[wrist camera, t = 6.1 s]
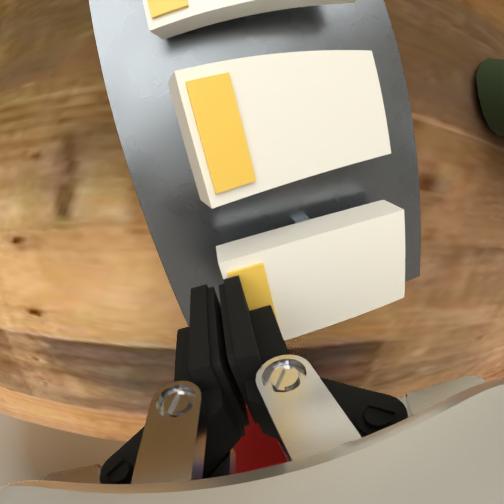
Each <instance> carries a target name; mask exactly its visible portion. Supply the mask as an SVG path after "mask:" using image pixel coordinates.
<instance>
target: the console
mask: <svg viewBox="0 0 504 504" xmlns="http://www.w3.org/2000/svg"><path fill="white" fill-rule="evenodd" d="M89 4H90V10H91V16H92V22H93V28H94V33H95V39H96V44H97V49H98V54H99V58H100V63H101V68H102V72H103V76H104V81H105V85H106V89H107V93H108V97H109V101H110V105H111V109H112V113H113V116H114V120H115V124H116V127H117V131H118V135H119V138H120V142H121V145H122V148H123V152H124V155H125V158H126V162H127V165H128V168H129V171H130V174H131V177H132V181H133V184H134V187H135V190H136V193H137V196H138V199H139V202H140V205H141V207H142V210H143V213H144V216H145V219H146V222H147V224H148V227H149V230H150V233H151V235H152V238H153V241H154V244H155V246H156V249H157V251H158V254H159V257H160V259H161V262H162V264H163V267H164V269H165V272H166V274H167V277H168V279H169V282H170V284H171V287H172V289H173V292H174V294H175V296H176V299H177V301H178V303H179V306H180V308H181V310H182V313H183V315H184V317H185V320H186V322H187V324H188V326H189V321H190V295H191V288H194V287H197V286H201V285H205V284H207V286H208V288H209V287H214V289H215V291H216V294H217V297H218V300H219V303H220V295H219V285H220V284H224V281H223V277H222V274H221V270H220V267H219V264H218V259H217V252H216V246H218V245H221V244H225V243H228V242H232V241H235V240H239V239H242V238H246V237H249V236H253V235H256V234H260V233H263V232H267V231H270V230H274V229H278V228H281V227H285V226H288V225H292V224H295V223H299V222H303V221H306V220H310V219H313V218H317V217H321V216H324V215H328V214H332V213H335V212H339V211H343V210H346V209H350V208H354V207H358V206H361V205H365V204H369V203H372V202H376V201H380V200H385V201H388V202H390V203H392V204H394V205H396V206H398V207H400V208H402V209H404V218H405V281H407V280H410V279H413V278H416V277H418V276H419V275H420V244H421V224H420V193H419V177H418V164H417V154H416V145H415V136H414V129H413V121H412V115H411V109H410V103H409V97H408V92H407V86H406V81H405V77H404V72H403V67H402V63H401V59H400V55H399V51H398V47H397V43H396V39H395V36H394V32H393V29H392V25H391V22H390V19H389V15H388V12H387V9H386V6H385V3H384V0H357V1H356V2H355V3H347V4H328V5H316V6H306V7H297V8H290V9H283V10H276V11H270V12H264V13H259V14H254V15H249V16H244V17H240V18H235V19H231V20H227V21H223V22H219V23H215V24H211V25H208V26H204V27H201V28H198V29H194V30H191V31H188V32H185V33H182V34H179V35H176V36H173V37H170V38H167V39H164V40H163V39H162V38H160V37H159V36H157V35H155V34H154V33H152V32H150V31H149V27H148V22H147V18H146V14H145V9H144V5H143V0H89ZM319 50H370V51H372V53H373V57H374V61H375V66H376V70H377V74H378V79H379V83H380V88H381V93H382V98H383V103H384V109H385V115H386V121H387V127H388V133H389V140H390V148H391V154H387V155H384V156H380V157H376V158H373V159H369V160H365V161H362V162H358V163H355V164H351V165H347V166H344V167H341V168H337V169H334V170H330V171H327V172H324V173H320V174H317V175H314V176H310V177H307V178H304V179H301V180H297V181H294V182H291V183H288V184H285V185H281V186H278V187H275V188H272V189H269V190H266V191H263V192H260V193H257V194H254V195H251V196H248V197H245V198H242V199H239V200H236V201H233V202H230V203H227V204H224V205H221V206H219V207H216V208H213V209H212V208H210V207H209V206H208V205H206V204H205V203H204V202H202V201H201V200H200V197H199V193H198V190H197V186H196V183H195V180H194V176H193V173H192V169H191V166H190V162H189V159H188V155H187V152H186V148H185V145H184V141H183V137H182V134H181V130H180V126H179V123H178V119H177V115H176V112H175V108H174V104H173V100H172V97H171V93H170V89H169V85H168V81H169V79H170V78H171V76H172V74H173V73H174V71H177V70H181V69H186V68H190V67H194V66H199V65H204V64H209V63H214V62H219V61H225V60H231V59H237V58H244V57H251V56H258V55H267V54H276V53H287V52H300V51H319ZM220 306H221V304H220Z"/></svg>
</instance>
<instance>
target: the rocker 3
mask: <svg viewBox="0 0 504 504" xmlns="http://www.w3.org/2000/svg"><path fill="white" fill-rule="evenodd" d="M216 252H217V259H218V264H219V267H220V270H221V274H222V277H223V279H226V278H230V277H234V276H237V275H239V278H240V281H241V284H242V288H243V291H244V294H245V298H246V301H247V304H248V308H249V311H250V310H254V309H257V308H261V307H264V306H268V305H271V307H272V310H273V312H274V315H275V318H276V320H277V323H278V326H279V328H280V331H281V334H282V337H283V339H284V341H285V340H288V339H291V338H295V337H298V336H301V335H304V334H307V333H310V332H313V331H316V330H319V329H322V328H325V327H328V326H331V325H333V324H336V323H339V322H342V321H345V320H347V319H350V318H353V317H356V316H358V315H361V314H364V313H366V312H369V311H371V310H374V309H377V308H379V307H382V306H384V305H387V304H389V303H392V302H394V301H397V300H399V299H402V298H404V291H405V218H404V209H402V208H400V207H398V206H396V205H394V204H392V203H390V202H388V201H385V200H380V201H376V202H372V203H369V204H365V205H361V206H358V207H354V208H350V209H346V210H343V211H339V212H335V213H332V214H328V215H324V216H321V217H317V218H313V219H310V220H306V221H303V222H299V223H295V224H292V225H288V226H285V227H281V228H278V229H274V230H270V231H267V232H263V233H260V234H256V235H253V236H249V237H246V238H242V239H239V240H235V241H232V242H228V243H225V244H221V245H218V246H216Z"/></svg>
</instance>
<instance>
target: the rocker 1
mask: <svg viewBox="0 0 504 504" xmlns="http://www.w3.org/2000/svg"><path fill="white" fill-rule="evenodd" d="M356 1H357V0H143V5H144V9H145V14H146V18H147V22H148V27H149V31H150V32H152V33H154V34H155V35H157V36H159V37H160V38H162V39H163V40H164V39H167V38H170V37H173V36H176V35H179V34H182V33H185V32H188V31H191V30H194V29H198V28H201V27H204V26H208V25H211V24H215V23H219V22H223V21H227V20H231V19H235V18H240V17H244V16H249V15H254V14H259V13H264V12H270V11H276V10H283V9H290V8H297V7H306V6H316V5H328V4H347V3H355V2H356Z"/></svg>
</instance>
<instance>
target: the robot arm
mask: <svg viewBox="0 0 504 504" xmlns="http://www.w3.org/2000/svg"><path fill="white" fill-rule="evenodd" d="M223 281H224V284H220V285H219V295H220V303H219V300H218V297H217V294H216V291H215V289H214V287H209V288H208V286H207V284H205V285H201V286H197V287H194V288H191V295H190V321H189V327H186V328H182V329H179V330H178V333H177V345H176V360H175V378H174V382H172V383H169V384H167V385H165V386H164V387H162V388H161V389H159V390H158V392H157V393H156V394H155V395H154V397H153V399H152V401H151V405H150V408H149V412H148V416H147V420H146V423H145V426H144V427H143V428H142V429H141V430H140V431H139V432H138V433H137V434H136V435H134V436H133V437H132V438H131V439H130V440H129V441H128V442H127V443H126V444H124V445H123V446H122V447H121V448H120V449H119V450H118V451H117V452H116V453H114V454H113V455H112V456H111V457H110V458H109V459H108V460H107V461H106V462H105V463H104V465H103V466H100V465H98V464H95V465H92V466H87V467H82V468H77V469H72V470H67V471H61V472H56V473H52V474H50V475H48V476H47V477H46V478H45V479H44V480H28V481H20V482H13V483H10V484H6V485H3V486H0V504H504V378H500V379H495V380H492V381H488V382H486V381H485V380H484V379H482V378H480V377H479V376H473V375H469V376H463V377H460V378H457V379H454V380H451V381H448V382H444V383H441V384H438V385H434V386H431V387H427V388H424V389H420V390H416V391H413V392H409V393H406V397H402V398H398V399H397V398H395V397H393V396H390V395H386V394H382V393H378V392H374V391H369V390H365V389H361V388H358V387H354V386H350V385H346V384H342V383H339V382H335V381H331V380H328V379H324V378H321V377H319V376H318V374H317V373H316V372H315V370H314V369H313V367H312V366H311V364H310V363H309V362H308V361H307V360H306V359H304V358H302V357H300V356H297V355H289V353H288V350H287V347H286V345H285V342H284V339H283V337H282V334H281V331H280V328H279V326H278V323H277V320H276V318H275V315H274V312H273V310H272V307H271V305H268V306H264V307H261V308H257V309H254V310H250V311H249V308H248V304H247V301H246V298H245V294H244V291H243V288H242V284H241V281H240V278H239V275H237V276H234V277H230V278H226V279H223ZM220 304H221V306H220ZM246 405H247V407H248V409H249V411H250V414H251V416H252V418H253V420H254V422H255V424H257V423H258V424H259V426H260V428H261V430H262V432H263V433H264V434H266V435H268V436H270V437H273V438H275V439H277V440H278V442H279V444H280V446H281V449H282V451H283V453H284V455H285V457H286V459H287V461H288V462H286V463H282V464H279V465H275V466H270V467H266V468H262V469H257V470H253V471H248V472H243V473H237V474H235V466H236V451H235V447H234V446H235V445H236V443H237V442H238V441H239V440H240V439H241V437H243V436H246V435H245V430H244V427H245V426H249V425H250V424H249V418H248V412H247V407H246Z"/></svg>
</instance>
